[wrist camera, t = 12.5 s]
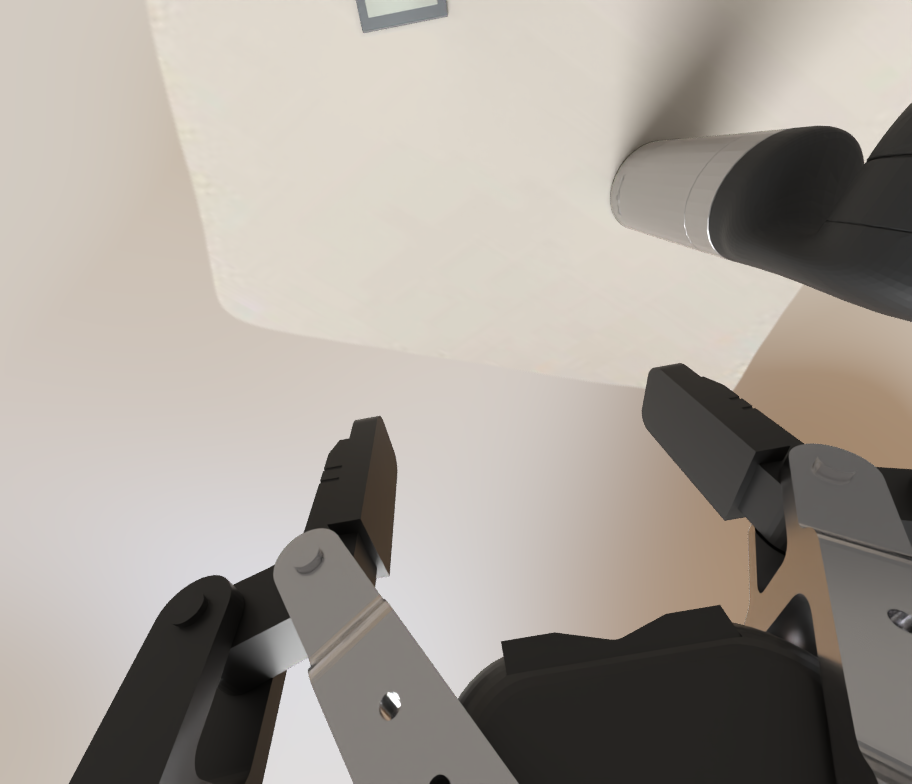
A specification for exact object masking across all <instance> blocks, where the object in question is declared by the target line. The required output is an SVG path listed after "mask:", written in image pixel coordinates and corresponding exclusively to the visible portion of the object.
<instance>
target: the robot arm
mask: <svg viewBox="0 0 912 784" xmlns="http://www.w3.org/2000/svg"><path fill="white" fill-rule="evenodd" d="M611 208H612V212H613V214H614V216H615V218H616V219H617V221H618V222H619V223H620V224H621V225H623V226H624V227H626V228H629V229H632V230H636V231H639V232H642V233H644V234H647V235H651V236H654V237H657V238H660V239H663V240H666V241H670V242H673V243H676V244H679V245H682V246H686V247H689V248H692V249H695V250H698V251H701V252H705V253H708V254H712V255H715V256H718V257H721V258H724V259H728V260H731V261H734V262H738V263H742V264H745V265H749V266H752V267H756V268H759V269H762V270H765V271H769V272H772V273H775V274H778V275H780V276H783V277H786V278H789V279H791V280H794V281H797V282H799V283H802V284H804V285H807V286H809V287H812V288H814V289H817V290H819V291H822V292H824V293H827V294H829V295H832V296H834V297H837V298H839V299H841V300H844V301H847V302H850V303H852V304H855V305H858V306H861V307H864V308H866V309H869V310H872V311H875V312H878V313H881V314H884V315H887V316H891V317H895V318H899V319H903V320H907V321H910V322H912V103H911V104H910V105H909V106H908V107H907V108H906V109H905V111H904V112H903V113H902V114H901V115H900V116H899V117H898V119H897V120H896V121H895V122H894V123H893V125H892V126H891V127H890V128H889V130H888V131H887V132H886V134H885V135H884V136H883V137H882V139H881V140H880V142H879V143H878V144H877V146H876V147H875V149H874V150H873V152H872V153H871V155H870V156H869V158H868V159H867V162H866V163H865V164H864V159H863V154H862V150H861V148H860V145H859V143H858V142H857V141H856V139H855V138H854V137H853V136H852V135H851V134H850V133H848V132H846V131H844V130H842V129H839V128H836V127H831V126H811V127H800V128H791V129H781V130H770V131H759V132H751V133H740V134H729V135H717V136H706V137H695V138H684V139H671V140H660V141H654V142H650V143H648V144H645V145H643V146H641V147H640V148H638V149H637V150H635V151H634V152H633V153H632V154H631V155H630V156H629V157H628V158H627V159H626V160H625V161H624V163H623V164H622V165H621V167H620V168H619V170H618V172H617V174H616V176H615V179H614V182H613V185H612V189H611ZM642 418H643V422H644V425H645V427H646V428H647V430H648V431H649V432H650V433H651V435H652V436H653V437H654V438H655V439H656V441H657V442H658V443H659V444H660V445H661V446H662V448H663V449H664V450H665V451H666V452H667V453H668V455H669V456H670V457H671V458H672V459H673V461H674V462H675V463H676V464H677V465H678V466H679V468H681V470H682V471H683V472H684V473H685V475H686V476H687V477H688V478H689V479H690V481H691V482H692V483H693V484H694V485H695V486H696V488H697V489H698V490H699V491H700V492H701V493H702V494H703V496H704V497H705V498H706V499H707V500H708V502H709V503H710V504H711V505H712V506H713V508H714V509H715V510H716V511H717V512H718V513H719V515H720V516H721V517H722V518H723V519H724V520H725V521H726V520H732V519H737V518H743V517H746V518H747V519H748V520H749V521H750V522H751V523H752V524H751V526H750V528H749V531H748V551H749V590H750V601H749V608H748V613H747V616H746V619H745V623H744V625H741V624H737V623H732V622H731V620H730V619H729V618H728V616H727V615H726V613H725V612H724V610H723V609H722V607H721V606H720V605H717V606H711V607H705V608H699V609H693V610H687V611H681V612H675V613H669V614H665V615H663V616H661V617H660V618H658V619H656V620H654V621H652V622H650V623H648V624H647V625H645V626H643V627H641V628H639V629H637V630H636V631H634V632H632V633H630V634H628V635H627V636H625V637H623V638H620V639H617V640H609V639H601V638H593V637H585V636H577V635H569V634H562V633H549V634H543V635H537V636H531V637H525V638H519V639H513V640H508V641H502V642H501V644H502V650H503V656H504V657H502V658H500V659H498V660H497V661H495V662H493V663H491V664H490V665H489V666H487V667H486V668H485V669H483V670H482V671H481V672H480V673H479V674H478V675H477V676H476V677H475V678H474V679H473V680H472V681H471V682H470V683H469V684H468V686H467V687H466V688H465V689H464V691H463V692H462V693H461V695H460V696H459V698H458V699H457V697H456V696H455V695H454V693H453V692H452V691H451V689H450V688H449V686H448V685H447V684H446V682H445V681H444V679H443V678H442V677H441V675H440V674H439V672H438V671H437V670H436V668H435V667H434V665H433V664H432V663H431V661H430V660H429V658H428V657H427V656H426V654H425V653H424V652H423V650H422V649H421V647H420V646H419V645H418V643H417V642H416V640H415V639H414V638H413V636H412V635H411V633H410V632H409V631H408V629H407V628H406V626H405V625H404V624H403V623H402V621H401V620H400V618H399V617H398V615H397V614H396V613H395V611H394V610H393V609H392V607H391V606H390V605H389V603H388V602H387V601H386V600H385V599H383V598H382V597H381V595H380V594H379V593H378V591H377V590H376V588H375V583H376V579H377V578H383V577H388V576H390V563H391V549H392V536H393V522H394V509H395V497H396V483H397V462H396V456H395V453H394V450H393V447H392V444H391V441H390V439H389V436H388V433H387V430H386V427H385V424H384V422H383V419H382V418H381V416H376V417H371V418H366V419H360V420H355V421H354V423H353V427H352V431H351V434H350V438H349V439H344V440H340V441H339V442H338V443H337V444H336V446H335V447H334V448H333V449H332V450H331V452H330V453H329V455H328V458H327V461H326V464H325V467H324V470H325V471H323V474H322V477H321V480H320V481H321V484H319V486H318V490H317V493H316V496H315V499H314V502H313V505H312V509H311V512H310V515H309V518H308V521H307V524H306V527H305V530H304V533H303V534H301V535H299V536H298V537H296V538H295V539H294V540H292V541H291V542H290V543H289V544H288V545H287V546H286V547H285V548H284V550H283V551H282V552H281V554H280V555H279V557H278V559H277V561H276V563H275V565H273V566H271V567H270V568H268V569H266V570H264V571H261V572H259V573H257V574H255V575H253V576H251V577H249V578H247V579H244V580H242V581H240V582H238V583H236V584H234V585H232V584H231V583H230V582H229V581H228V580H227V579H226V578H224V577H222V576H218V575H213V576H207V577H204V578H201V579H199V580H197V581H195V582H193V583H191V584H190V585H188V586H187V587H185V588H184V589H182V590H181V591H180V592H179V593H177V594H176V595H175V596H174V597H173V598H172V599H171V600H170V601H169V602H168V604H166V606H165V607H164V608H163V610H162V611H161V612H160V614H159V615H158V617H157V619H156V620H155V622H154V624H153V626H152V628H151V630H150V632H149V634H148V636H147V638H146V639H145V641H144V643H143V645H142V647H141V649H140V651H139V652H138V654H137V656H136V658H135V660H134V662H133V664H132V666H131V668H130V670H129V671H128V673H127V675H126V677H125V679H124V681H123V683H122V684H121V686H120V688H119V690H118V692H117V694H116V696H115V698H114V700H113V701H112V703H111V705H110V707H109V709H108V711H107V713H106V715H105V716H104V718H103V720H102V722H101V724H100V726H99V728H98V730H97V732H96V733H95V735H94V737H93V739H92V741H91V743H90V745H89V747H88V749H87V750H86V752H85V754H84V756H83V758H82V760H81V762H80V764H79V765H78V767H77V769H76V771H75V773H74V775H73V777H72V779H71V781H70V783H69V784H262V782H263V778H264V773H265V769H266V764H267V759H268V755H269V750H270V746H271V741H272V736H273V731H274V727H275V722H276V717H277V713H278V708H279V704H280V699H281V695H282V690H283V685H284V681H285V676H286V672H287V669H289V668H291V667H292V666H294V665H296V664H298V663H299V662H301V661H303V660H305V659H307V658H309V661H310V665H311V667H310V668H309V669H308V674H309V678H310V681H311V684H312V687H313V690H314V692H315V694H316V697H317V699H318V701H319V704H320V706H321V708H322V711H323V713H324V715H325V718H326V720H327V722H328V725H329V727H330V730H331V732H332V734H333V737H334V739H335V741H336V744H337V746H338V748H339V751H340V753H341V755H342V758H343V760H344V762H345V765H346V767H347V769H348V772H349V774H350V776H351V779H352V781H353V784H912V470H911V469H897V468H882V467H875V466H874V465H873V464H871V463H869V462H868V461H867V460H865V459H863V458H862V457H860V456H858V455H856V454H854V453H851V452H849V451H846V450H844V449H840V448H837V447H833V446H829V445H822V444H804V443H802V442H801V441H800V440H798V439H797V438H795V437H794V436H793V435H791V434H790V433H788V432H787V431H785V429H783V428H782V427H780V426H779V425H778V424H776V423H775V422H774V421H772V420H771V419H769V418H768V417H767V416H765V415H764V414H763V413H761V412H760V411H759V410H757V409H755V408H754V409H753V408H752V405H750V404H749V403H748V402H746V401H745V400H743V399H740V398H739V396H738V395H737V394H735V393H734V392H733V391H731V390H730V389H729V388H727V387H726V386H724V385H723V384H720V383H718V382H715V381H713V380H710V379H708V378H705V377H700V376H699V375H698V374H696V373H695V372H694V371H692V370H691V369H690V368H688V367H687V366H686V365H684V364H682V363H678V364H672V365H667V366H661V367H655V368H652V369H651V370H650V372H649V374H648V379H647V385H646V390H645V396H644V401H643V407H642Z"/></svg>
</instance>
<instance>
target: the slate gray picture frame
mask: <svg viewBox="0 0 912 784" xmlns="http://www.w3.org/2000/svg"><path fill="white" fill-rule="evenodd" d="M356 3H357V8H358V12H359V17H360V21H361V26H362V30H363V33H367V32H372V31H377V30H382V29H387V28H392V27H397V26H402V25H407V24H412V23H417V22H422V21H427V20H432V19H437V18H442V17H447V16H448V14H447V5H446V0H356Z"/></svg>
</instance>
